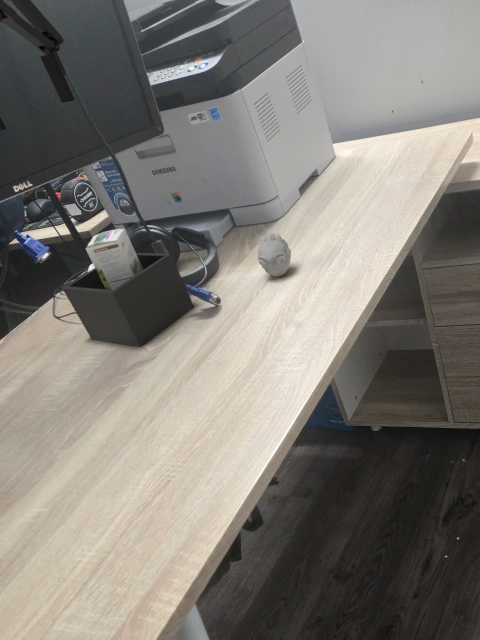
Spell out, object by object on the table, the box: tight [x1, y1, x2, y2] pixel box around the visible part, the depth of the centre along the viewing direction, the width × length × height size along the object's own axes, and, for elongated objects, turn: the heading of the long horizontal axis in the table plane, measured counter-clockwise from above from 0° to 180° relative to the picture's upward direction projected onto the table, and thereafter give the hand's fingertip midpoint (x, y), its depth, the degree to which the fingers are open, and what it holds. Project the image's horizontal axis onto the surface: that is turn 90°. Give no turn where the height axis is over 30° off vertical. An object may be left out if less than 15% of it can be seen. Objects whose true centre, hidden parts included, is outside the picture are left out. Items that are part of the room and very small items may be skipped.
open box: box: [62, 252, 195, 348], centre depth 113 cm, size 14×14×10 cm
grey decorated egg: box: [257, 233, 292, 277], centre depth 117 cm, size 6×7×7 cm
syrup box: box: [85, 228, 143, 290], centre depth 112 cm, size 6×6×14 cm
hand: (35, 115), depth 103 cm, fingers open, 13 cm apart
